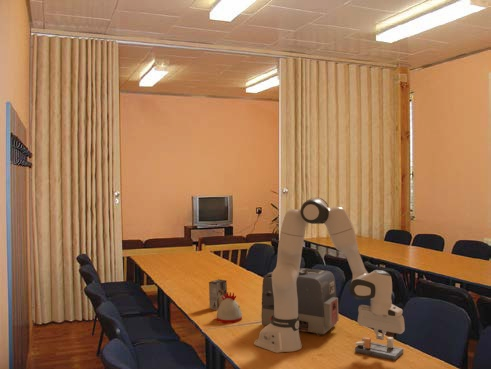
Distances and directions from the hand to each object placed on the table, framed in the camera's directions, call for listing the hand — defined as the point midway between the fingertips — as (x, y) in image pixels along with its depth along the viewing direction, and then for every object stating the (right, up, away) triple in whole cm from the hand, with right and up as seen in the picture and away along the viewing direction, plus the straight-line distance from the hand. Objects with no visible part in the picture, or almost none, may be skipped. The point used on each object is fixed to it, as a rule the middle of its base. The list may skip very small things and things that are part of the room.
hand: (380, 339), depth 218 cm
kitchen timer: (-68, -7, +56) cm, 88 cm away
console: (+1, -7, +4) cm, 8 cm away
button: (-4, -5, +11) cm, 12 cm away
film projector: (-30, -7, +40) cm, 51 cm away
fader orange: (-4, -5, +4) cm, 8 cm away
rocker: (-7, -4, +6) cm, 10 cm away
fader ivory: (+6, -5, +4) cm, 8 cm away
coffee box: (-75, -6, +79) cm, 109 cm away
